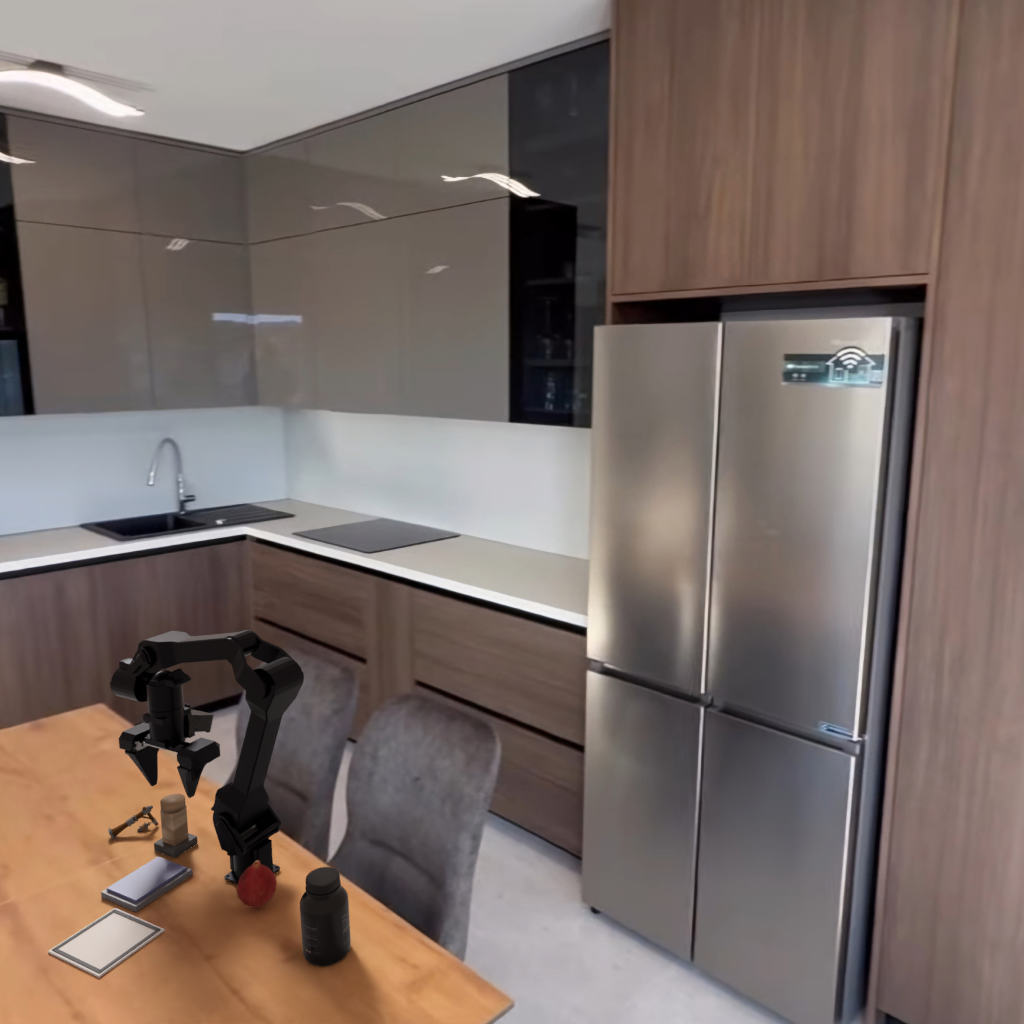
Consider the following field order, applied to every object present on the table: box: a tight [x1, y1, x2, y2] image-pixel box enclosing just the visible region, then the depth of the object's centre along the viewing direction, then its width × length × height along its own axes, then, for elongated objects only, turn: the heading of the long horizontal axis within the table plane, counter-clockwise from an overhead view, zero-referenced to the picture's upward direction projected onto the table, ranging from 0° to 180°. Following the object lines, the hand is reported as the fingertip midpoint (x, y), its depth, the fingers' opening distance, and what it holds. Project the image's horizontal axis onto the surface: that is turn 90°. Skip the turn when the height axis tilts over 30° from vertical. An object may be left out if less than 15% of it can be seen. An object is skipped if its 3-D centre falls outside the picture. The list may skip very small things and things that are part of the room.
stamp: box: [153, 793, 198, 859], centre depth 145 cm, size 5×5×9 cm
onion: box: [236, 860, 277, 910], centre depth 129 cm, size 6×6×8 cm
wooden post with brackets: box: [107, 804, 159, 841], centre depth 150 cm, size 2×8×4 cm, turn 121°
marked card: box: [47, 907, 166, 979], centre depth 121 cm, size 11×11×1 cm
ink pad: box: [100, 856, 193, 913], centre depth 135 cm, size 8×11×2 cm
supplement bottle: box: [299, 866, 352, 967], centre depth 118 cm, size 7×7×12 cm
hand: (172, 790), depth 144 cm, fingers open, 9 cm apart
